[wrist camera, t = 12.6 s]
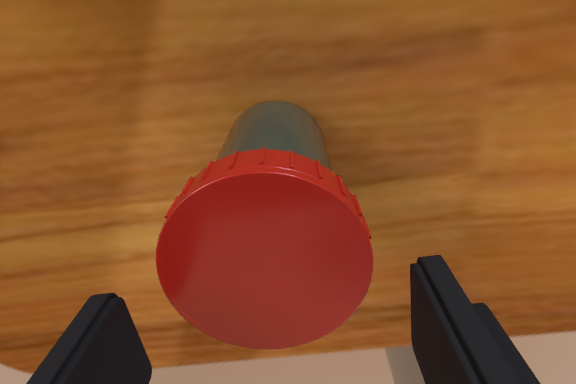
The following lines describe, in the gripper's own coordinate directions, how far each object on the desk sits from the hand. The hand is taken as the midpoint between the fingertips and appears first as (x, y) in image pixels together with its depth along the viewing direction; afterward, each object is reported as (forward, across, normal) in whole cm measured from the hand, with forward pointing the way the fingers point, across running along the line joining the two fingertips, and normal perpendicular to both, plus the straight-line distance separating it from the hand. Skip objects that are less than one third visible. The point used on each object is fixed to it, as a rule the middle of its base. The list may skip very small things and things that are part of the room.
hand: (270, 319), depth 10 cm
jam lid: (+2, 0, 0) cm, 2 cm away
